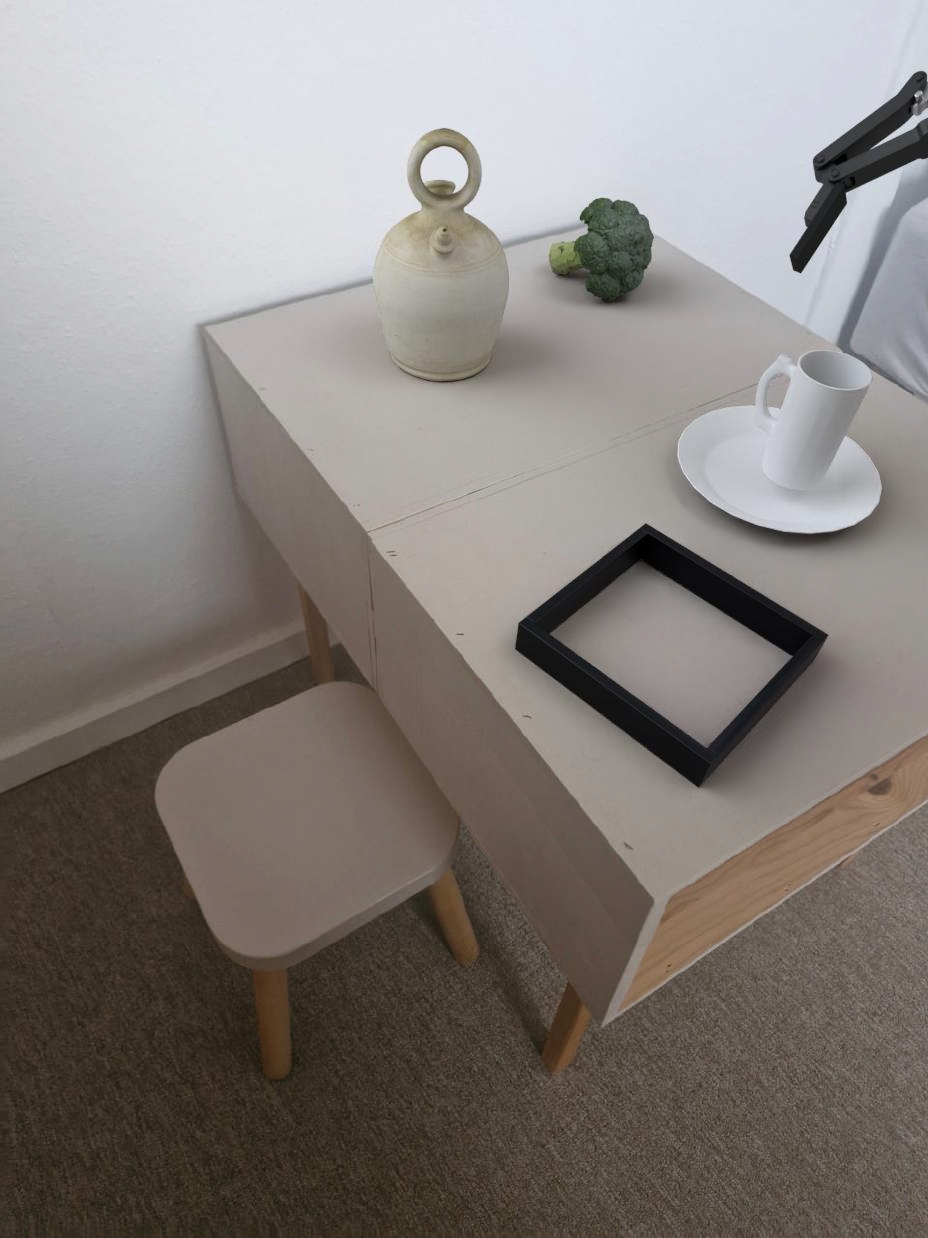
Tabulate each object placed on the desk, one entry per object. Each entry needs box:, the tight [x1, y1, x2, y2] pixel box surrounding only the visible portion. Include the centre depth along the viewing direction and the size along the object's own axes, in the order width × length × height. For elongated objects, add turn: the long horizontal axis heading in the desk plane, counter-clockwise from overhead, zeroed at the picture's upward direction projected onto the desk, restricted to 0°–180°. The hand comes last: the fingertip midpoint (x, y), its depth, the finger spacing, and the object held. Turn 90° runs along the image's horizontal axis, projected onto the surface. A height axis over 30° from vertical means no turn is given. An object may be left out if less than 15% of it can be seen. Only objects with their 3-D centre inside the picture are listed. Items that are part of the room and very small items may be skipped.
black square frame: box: [514, 522, 829, 788], centre depth 72 cm, size 19×18×4 cm
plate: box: [676, 404, 883, 535], centre depth 89 cm, size 21×21×2 cm
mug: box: [755, 349, 874, 490], centre depth 84 cm, size 10×7×12 cm, turn 41°
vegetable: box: [548, 197, 655, 302], centre depth 113 cm, size 12×13×15 cm
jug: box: [372, 127, 510, 382], centre depth 94 cm, size 15×16×25 cm
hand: (870, 295), depth 68 cm, fingers open, 13 cm apart
